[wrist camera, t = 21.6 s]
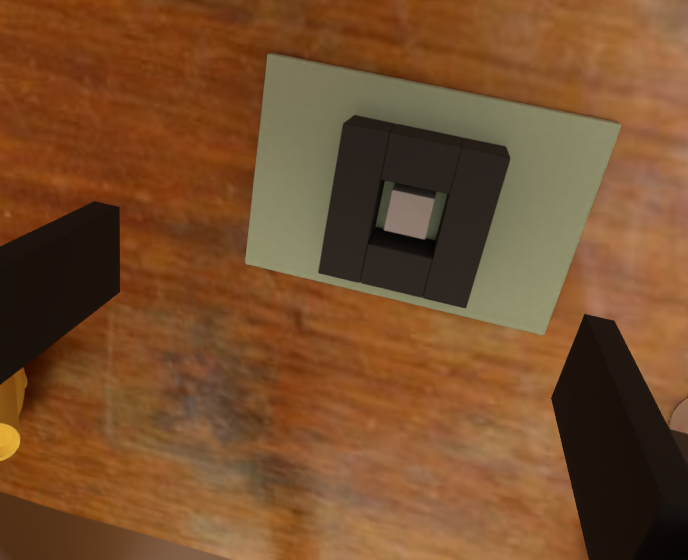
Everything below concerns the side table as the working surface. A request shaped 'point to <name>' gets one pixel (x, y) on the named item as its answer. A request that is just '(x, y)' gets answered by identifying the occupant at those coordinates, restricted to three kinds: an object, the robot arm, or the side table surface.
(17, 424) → the teapot
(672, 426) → the binoculars
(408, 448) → the side table surface
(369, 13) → the side table surface
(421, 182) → the dark square frame
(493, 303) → the base mat
